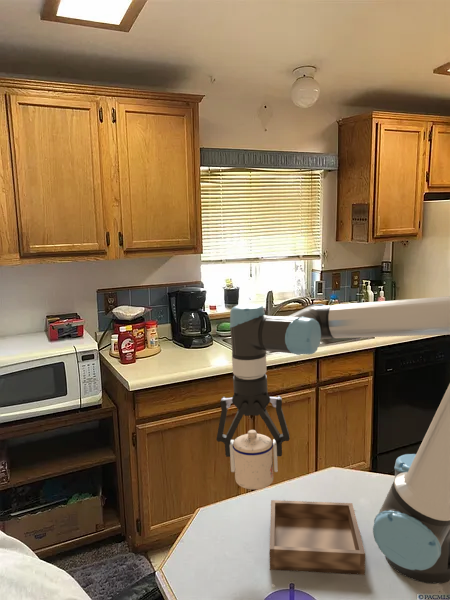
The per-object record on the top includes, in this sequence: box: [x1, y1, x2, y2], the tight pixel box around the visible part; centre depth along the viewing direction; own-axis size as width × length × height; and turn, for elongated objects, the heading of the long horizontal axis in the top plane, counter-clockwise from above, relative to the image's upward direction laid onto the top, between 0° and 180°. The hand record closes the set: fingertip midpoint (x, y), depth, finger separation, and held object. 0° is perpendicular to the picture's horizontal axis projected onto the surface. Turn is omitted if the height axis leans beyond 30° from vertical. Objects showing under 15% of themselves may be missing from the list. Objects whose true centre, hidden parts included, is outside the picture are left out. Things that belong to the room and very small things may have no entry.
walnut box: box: [269, 499, 366, 576], centre depth 109 cm, size 20×18×5 cm
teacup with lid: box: [233, 429, 274, 490], centre depth 107 cm, size 12×9×12 cm
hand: (254, 468), depth 108 cm, fingers closed on teacup with lid, 9 cm apart
